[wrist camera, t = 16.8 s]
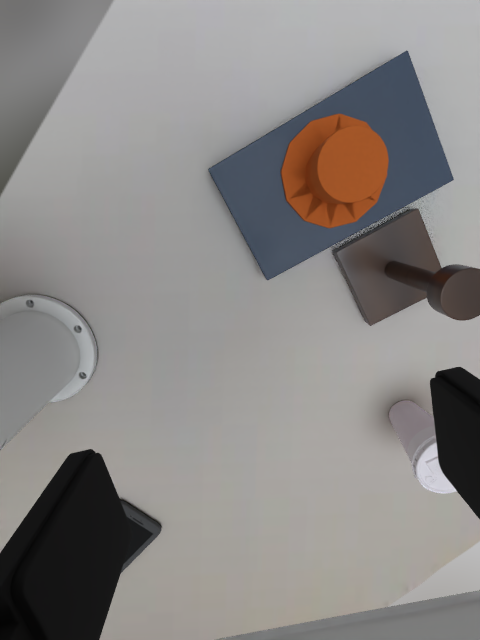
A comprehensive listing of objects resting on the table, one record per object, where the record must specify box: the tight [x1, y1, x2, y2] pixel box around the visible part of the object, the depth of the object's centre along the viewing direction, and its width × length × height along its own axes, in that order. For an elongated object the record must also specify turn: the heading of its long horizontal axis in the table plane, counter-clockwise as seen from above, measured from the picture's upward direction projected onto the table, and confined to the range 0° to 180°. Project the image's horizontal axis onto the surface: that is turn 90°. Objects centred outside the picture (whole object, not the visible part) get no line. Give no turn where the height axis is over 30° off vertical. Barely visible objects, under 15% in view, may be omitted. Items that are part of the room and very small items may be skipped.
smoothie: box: [389, 400, 457, 493], centre depth 37 cm, size 6×6×14 cm
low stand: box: [208, 51, 454, 280], centre depth 35 cm, size 20×12×2 cm, turn 119°
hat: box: [281, 114, 389, 228], centre depth 31 cm, size 10×10×6 cm
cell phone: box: [120, 500, 161, 572], centre depth 48 cm, size 7×14×1 cm, turn 139°
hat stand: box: [333, 209, 480, 326], centre depth 32 cm, size 9×9×14 cm
